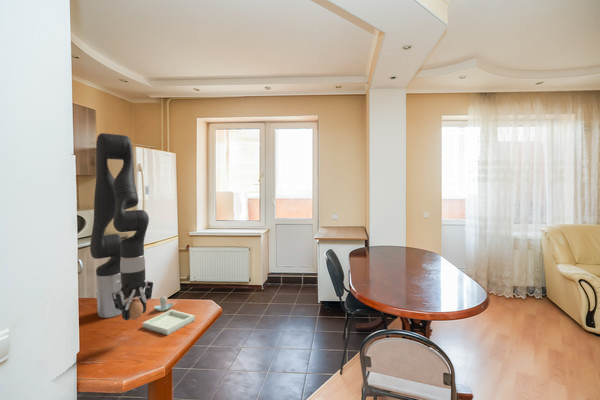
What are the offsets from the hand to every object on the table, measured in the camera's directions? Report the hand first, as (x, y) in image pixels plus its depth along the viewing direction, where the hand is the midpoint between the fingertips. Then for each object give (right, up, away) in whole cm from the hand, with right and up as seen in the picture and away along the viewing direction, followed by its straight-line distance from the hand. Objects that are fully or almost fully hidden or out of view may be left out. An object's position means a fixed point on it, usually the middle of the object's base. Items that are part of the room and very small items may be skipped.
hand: (134, 315), depth 109 cm
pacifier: (-1, -7, +27) cm, 28 cm away
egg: (0, -1, 0) cm, 1 cm away
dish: (+7, -8, +13) cm, 17 cm away
